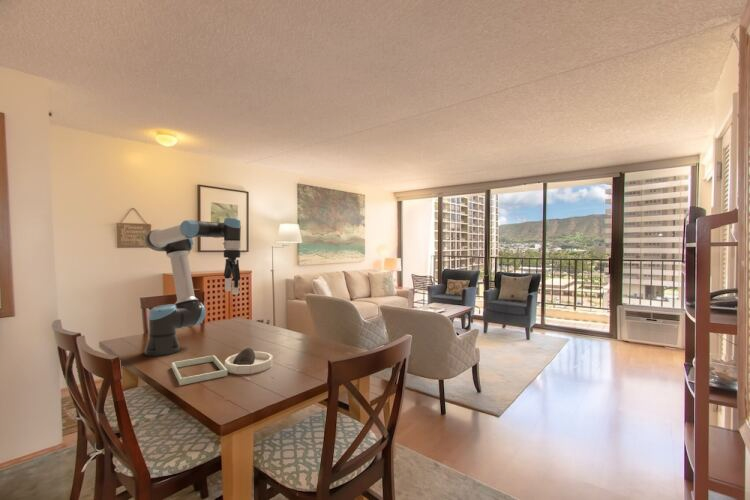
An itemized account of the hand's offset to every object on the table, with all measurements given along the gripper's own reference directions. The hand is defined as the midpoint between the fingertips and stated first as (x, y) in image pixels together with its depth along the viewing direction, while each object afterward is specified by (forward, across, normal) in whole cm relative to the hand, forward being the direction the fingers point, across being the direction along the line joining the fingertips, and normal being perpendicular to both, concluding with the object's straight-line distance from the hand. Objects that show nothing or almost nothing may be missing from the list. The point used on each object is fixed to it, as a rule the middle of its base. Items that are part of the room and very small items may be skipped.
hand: (231, 292), depth 169 cm
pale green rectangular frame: (+32, +13, -16) cm, 38 cm away
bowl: (+32, +18, +4) cm, 37 cm away
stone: (+31, +17, +2) cm, 36 cm away
